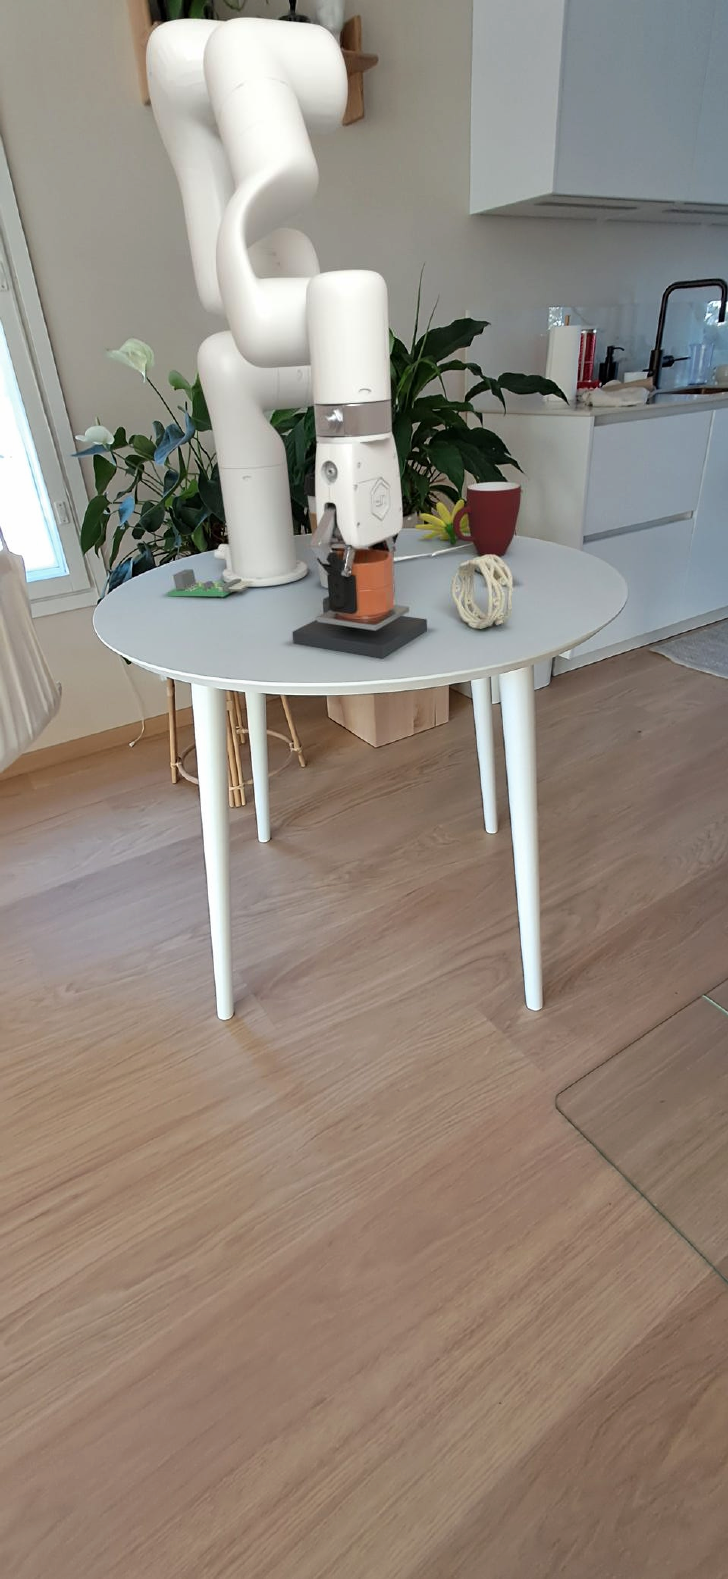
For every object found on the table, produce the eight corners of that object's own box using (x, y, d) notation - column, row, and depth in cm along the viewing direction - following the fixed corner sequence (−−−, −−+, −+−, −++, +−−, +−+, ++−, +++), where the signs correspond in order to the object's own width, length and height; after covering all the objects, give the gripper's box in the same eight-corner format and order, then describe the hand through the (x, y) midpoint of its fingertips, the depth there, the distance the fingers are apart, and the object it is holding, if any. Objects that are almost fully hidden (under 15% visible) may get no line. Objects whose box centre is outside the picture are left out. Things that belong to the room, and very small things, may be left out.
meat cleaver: (527, 578, 103) (495, 584, 102) (526, 587, 104) (494, 592, 102) (482, 555, 112) (452, 560, 111) (481, 563, 113) (452, 568, 111)
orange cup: (320, 616, 83) (316, 561, 80) (354, 599, 88) (351, 546, 85) (373, 624, 80) (370, 567, 77) (405, 606, 85) (404, 551, 82)
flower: (439, 492, 118) (501, 511, 123) (402, 532, 128) (461, 548, 133) (442, 515, 117) (504, 533, 122) (403, 553, 126) (463, 569, 132)
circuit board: (253, 567, 106) (236, 576, 102) (257, 589, 107) (240, 599, 103) (183, 567, 110) (163, 576, 106) (188, 589, 112) (168, 599, 108)
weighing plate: (316, 622, 84) (316, 616, 83) (352, 604, 89) (352, 599, 88) (375, 630, 80) (375, 625, 80) (409, 611, 85) (409, 606, 85)
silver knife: (480, 543, 123) (371, 563, 118) (480, 537, 123) (370, 556, 118) (492, 550, 120) (380, 570, 115) (492, 543, 119) (379, 563, 115)
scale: (287, 642, 87) (284, 616, 86) (341, 614, 95) (340, 590, 94) (382, 658, 81) (381, 631, 80) (432, 627, 89) (432, 602, 88)
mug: (470, 566, 113) (471, 495, 108) (442, 555, 119) (442, 488, 114) (528, 555, 117) (532, 486, 112) (498, 546, 123) (500, 480, 118)
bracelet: (473, 615, 93) (474, 547, 89) (517, 631, 87) (520, 560, 83) (446, 621, 91) (447, 553, 87) (489, 638, 85) (491, 566, 81)
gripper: (335, 432, 66) (348, 629, 75) (429, 414, 79) (430, 585, 88) (268, 432, 70) (288, 620, 79) (367, 415, 83) (375, 579, 91)
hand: (363, 600), depth 83 cm, fingers closed on orange cup, 7 cm apart
